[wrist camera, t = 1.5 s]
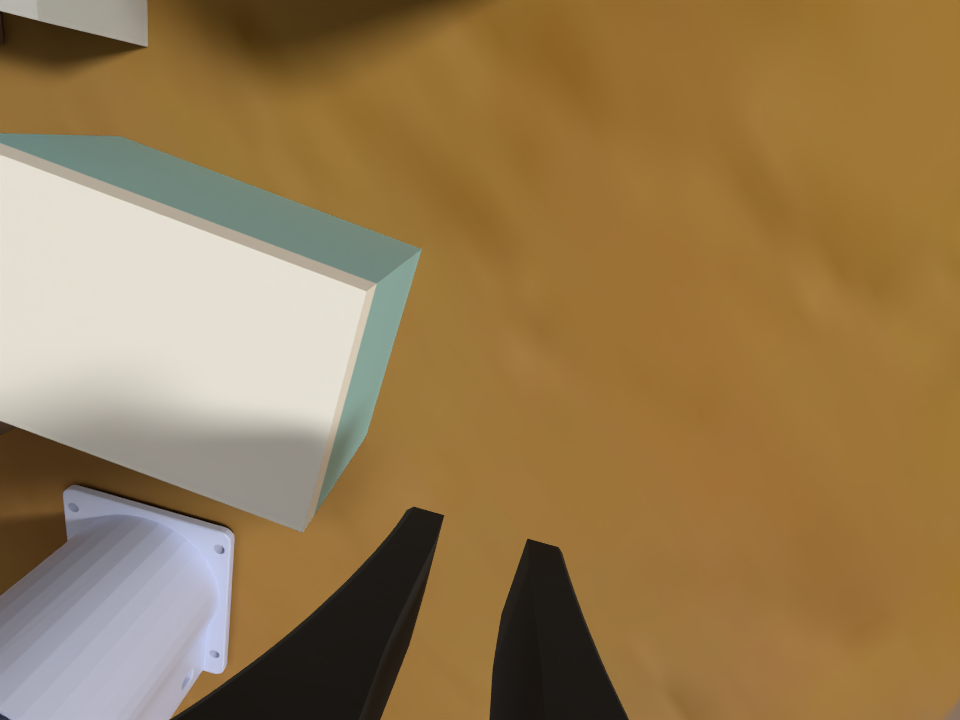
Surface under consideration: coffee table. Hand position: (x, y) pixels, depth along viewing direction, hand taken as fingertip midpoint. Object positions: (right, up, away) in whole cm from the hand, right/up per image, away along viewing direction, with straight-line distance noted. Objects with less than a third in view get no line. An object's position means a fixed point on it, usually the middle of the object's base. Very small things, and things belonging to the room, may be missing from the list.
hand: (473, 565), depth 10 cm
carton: (-8, +6, +10) cm, 14 cm away
